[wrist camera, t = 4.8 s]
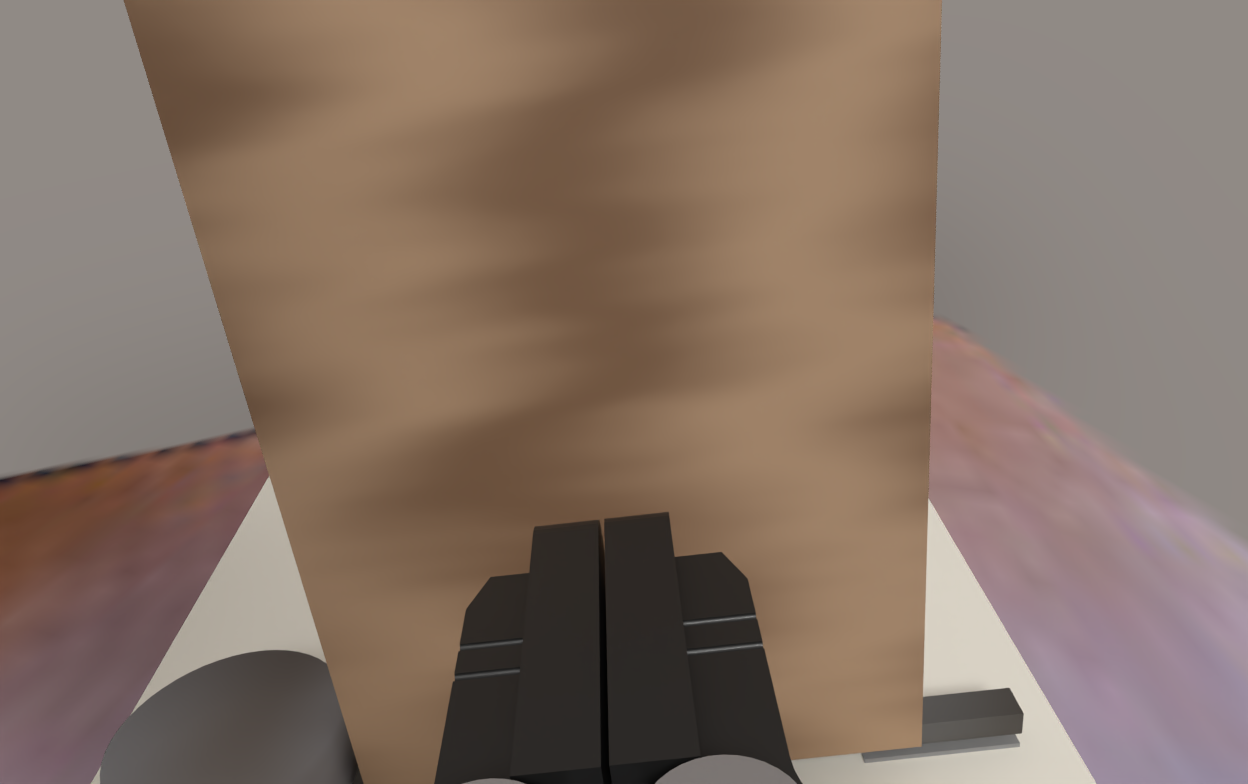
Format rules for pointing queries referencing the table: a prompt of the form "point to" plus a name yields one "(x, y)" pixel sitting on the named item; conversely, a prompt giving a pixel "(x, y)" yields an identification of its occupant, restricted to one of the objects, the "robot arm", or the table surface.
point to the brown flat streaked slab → (561, 340)
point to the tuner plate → (881, 780)
